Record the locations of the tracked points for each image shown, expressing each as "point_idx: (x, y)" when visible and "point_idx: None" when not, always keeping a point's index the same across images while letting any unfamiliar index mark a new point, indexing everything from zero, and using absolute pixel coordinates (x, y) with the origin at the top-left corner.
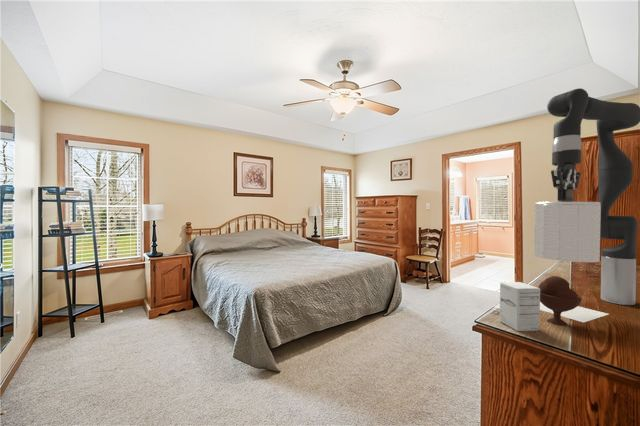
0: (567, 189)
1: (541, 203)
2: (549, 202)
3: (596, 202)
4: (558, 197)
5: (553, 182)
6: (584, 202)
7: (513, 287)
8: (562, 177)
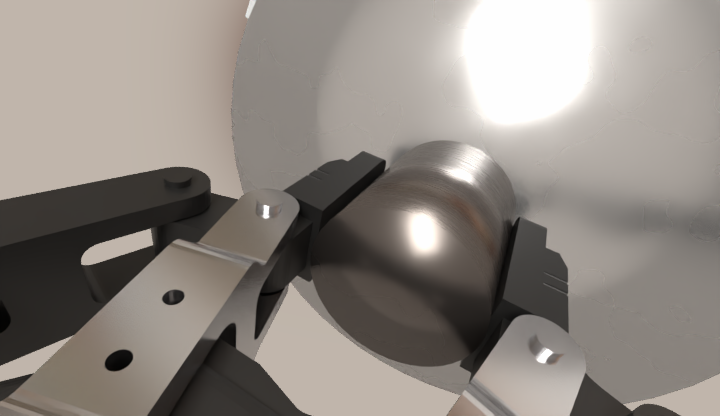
0: (321, 292)
1: (257, 17)
2: (235, 93)
3: (362, 345)
4: (326, 166)
5: (96, 191)
6: (297, 283)
7: (249, 2)
8: (62, 337)
